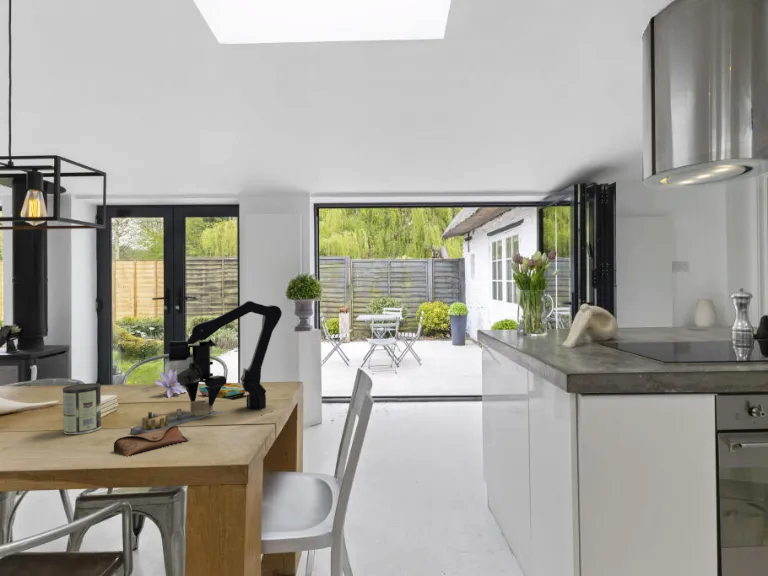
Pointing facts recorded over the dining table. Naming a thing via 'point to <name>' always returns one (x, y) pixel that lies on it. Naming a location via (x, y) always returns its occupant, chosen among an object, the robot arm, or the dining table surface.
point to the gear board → (172, 422)
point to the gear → (200, 408)
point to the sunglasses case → (148, 441)
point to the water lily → (170, 383)
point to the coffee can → (82, 408)
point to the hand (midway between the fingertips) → (201, 404)
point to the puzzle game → (226, 391)
